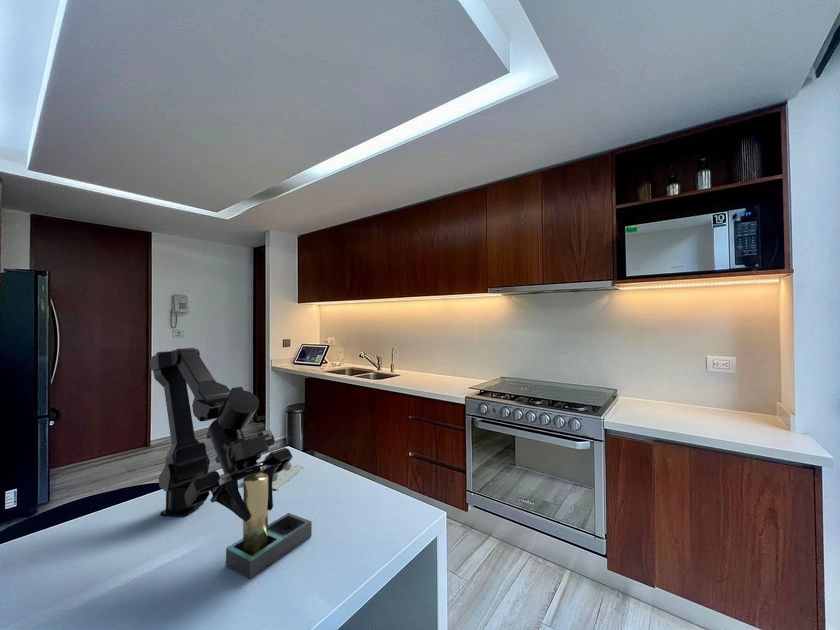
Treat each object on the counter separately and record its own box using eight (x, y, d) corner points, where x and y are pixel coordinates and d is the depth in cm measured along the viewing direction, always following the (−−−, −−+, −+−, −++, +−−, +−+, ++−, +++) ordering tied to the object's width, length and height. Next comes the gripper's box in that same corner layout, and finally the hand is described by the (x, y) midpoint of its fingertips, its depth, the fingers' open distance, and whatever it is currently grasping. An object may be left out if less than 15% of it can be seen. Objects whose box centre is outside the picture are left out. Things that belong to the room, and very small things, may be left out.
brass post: (237, 553, 63) (238, 481, 63) (254, 539, 67) (255, 472, 67) (256, 557, 62) (257, 484, 62) (272, 543, 66) (273, 474, 66)
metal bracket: (236, 467, 94) (268, 448, 108) (231, 487, 94) (263, 465, 108) (283, 485, 91) (309, 463, 106) (277, 506, 92) (304, 481, 106)
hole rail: (250, 579, 59) (250, 560, 59) (225, 566, 63) (226, 547, 63) (311, 536, 72) (311, 519, 72) (288, 526, 75) (288, 511, 75)
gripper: (192, 431, 60) (222, 516, 53) (287, 409, 75) (320, 473, 68) (173, 467, 64) (198, 549, 57) (267, 439, 79) (296, 502, 72)
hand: (259, 514), depth 64 cm, fingers closed on brass post, 4 cm apart
